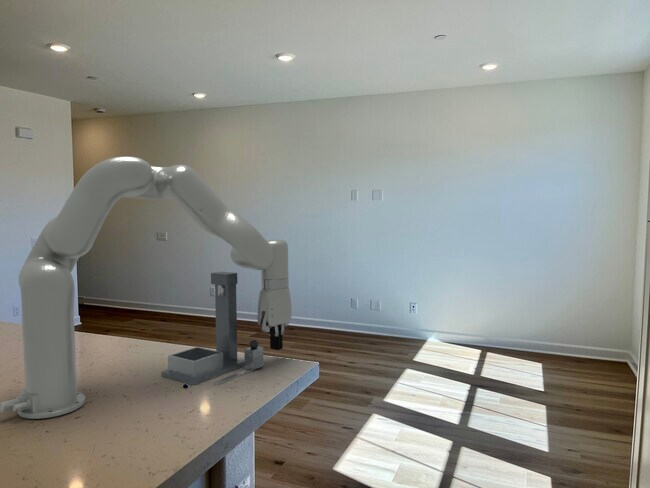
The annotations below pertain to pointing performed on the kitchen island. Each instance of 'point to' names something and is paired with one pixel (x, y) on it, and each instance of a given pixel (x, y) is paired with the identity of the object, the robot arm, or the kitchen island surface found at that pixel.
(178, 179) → the robot arm
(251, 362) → the lever
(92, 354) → the kitchen island surface
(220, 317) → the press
